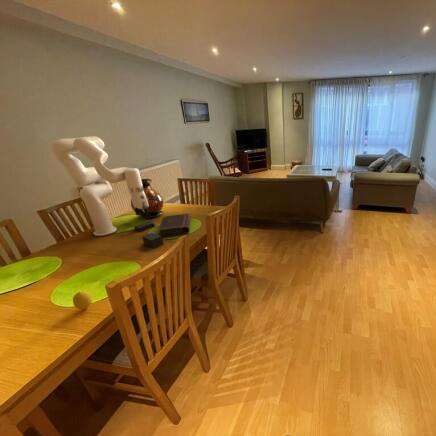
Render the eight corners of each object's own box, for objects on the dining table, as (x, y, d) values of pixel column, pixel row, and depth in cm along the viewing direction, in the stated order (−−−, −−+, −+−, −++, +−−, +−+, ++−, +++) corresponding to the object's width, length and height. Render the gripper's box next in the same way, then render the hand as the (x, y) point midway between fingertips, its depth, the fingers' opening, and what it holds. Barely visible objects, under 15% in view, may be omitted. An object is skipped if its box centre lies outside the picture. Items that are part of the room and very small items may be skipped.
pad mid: (143, 240, 143) (141, 236, 142) (152, 236, 147) (151, 232, 146) (152, 244, 138) (151, 240, 137) (162, 240, 142) (161, 236, 141)
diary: (190, 219, 178) (189, 212, 176) (189, 232, 157) (188, 226, 155) (163, 222, 173) (161, 216, 171) (158, 237, 151) (156, 230, 149)
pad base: (144, 244, 144) (142, 240, 143) (153, 240, 148) (152, 236, 147) (153, 248, 139) (152, 244, 138) (163, 243, 143) (162, 240, 142)
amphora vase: (142, 211, 195) (133, 177, 184) (170, 210, 197) (162, 176, 186) (129, 222, 175) (117, 185, 164) (160, 220, 177) (150, 183, 166)
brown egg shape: (83, 303, 97) (76, 288, 94) (98, 302, 98) (91, 287, 95) (73, 314, 92) (65, 297, 89) (88, 313, 93) (81, 296, 89)
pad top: (139, 231, 160) (138, 228, 159) (135, 229, 163) (134, 226, 162) (154, 226, 168) (153, 222, 166) (149, 224, 170) (148, 221, 169)
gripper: (150, 190, 140) (156, 217, 147) (135, 186, 149) (142, 211, 155) (137, 193, 134) (144, 221, 141) (122, 188, 143) (129, 215, 150)
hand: (143, 216), depth 148 cm, fingers open, 9 cm apart
